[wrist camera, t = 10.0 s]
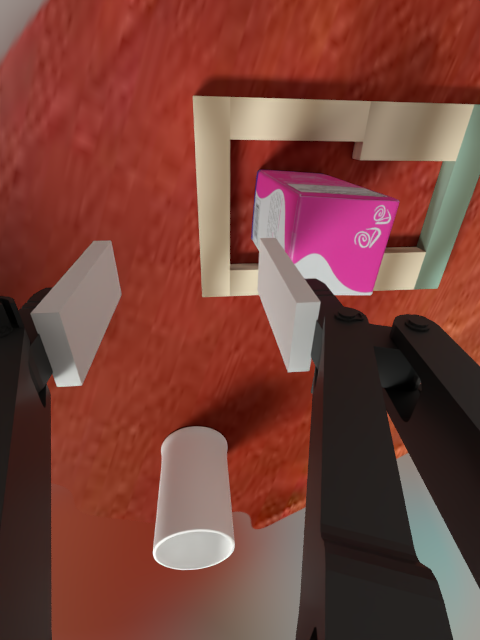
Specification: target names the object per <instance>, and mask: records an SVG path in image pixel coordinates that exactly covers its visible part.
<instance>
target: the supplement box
mask: <svg viewBox="0 0 480 640" xmlns="http://www.w3.org/2000/svg"><path fill="white" fill-rule="evenodd" d="M399 202H400V201H399V200H397V199H395V198H392V197H389V196H386V195H384V194H381V193H378V192H375V191H372V190H369V189H366V188H363V187H361V186H357V185H354V184H351V183H348V182H346V181H343V180H340V179H337V178H334V177H331V176H329V175H326V174H321V173H307V172H293V171H278V170H258V172H257V178H256V187H255V198H254V210H253V222H252V236H251V239H252V240H253V242H254V243H255V245H256V247H257V248H258V250H259V249H260V238H276V239H277V240H278V242H279V243H280V245H281V246H282V248H283V249H284V250H285V252H286V253H287V255H288V256H289V258H290V259H291V260H292V262H293V263H294V265H295V266H296V268H297V269H298V270H299V272H300V273H301V275H302V276H303V278H304V279H311V278H316V279H318V280H320V281H321V282H323V283H325V284H326V285H327V287H328V288H329V289H330V291H331V292H332V293H333V294H334V295H371V294H372V293H373V289H374V286H375V282H376V279H377V276H378V272H379V269H380V265H381V262H382V259H383V255H384V252H385V249H386V245H387V242H388V239H389V235H390V232H391V229H392V225H393V222H394V219H395V215H396V212H397V209H398V205H399Z"/></svg>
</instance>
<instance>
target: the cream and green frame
mask: <svg viewBox="0 0 480 640" xmlns="http://www.w3.org/2000/svg"><path fill="white" fill-rule="evenodd" d="M193 111H194V132H195V153H196V174H197V195H198V216H199V238H200V259H201V280H202V297H217V296H244V295H259V293H258V290H257V288H258V268H259V263H253V264H230V139H233V140H294V141H355V144H354V149H353V155H352V159H357V160H389V161H443V163H442V166H441V169H440V173H439V176H438V179H437V182H436V186H435V189H434V192H433V195H432V198H431V202H430V205H429V208H428V211H427V215H426V218H425V221H424V224H423V227H422V231H421V234H420V237H419V240H418V244H417V247H389V248H386V249H385V252H384V255H383V259H382V262H381V265H380V269H379V272H378V276H377V279H376V282H375V286H374V289H373V291H381V290H409V289H436V288H438V286H439V283H440V281H441V278H442V275H443V272H444V270H445V267H446V264H447V262H448V259H449V256H450V254H451V251H452V248H453V245H454V243H455V240H456V237H457V235H458V232H459V229H460V226H461V224H462V221H463V218H464V216H465V213H466V210H467V208H468V205H469V202H470V199H471V197H472V194H473V191H474V189H475V186H476V183H477V181H478V178H479V175H480V105H477V104H444V103H412V102H379V101H346V100H314V99H281V98H248V97H215V96H193Z"/></svg>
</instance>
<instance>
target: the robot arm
mask: <svg viewBox="0 0 480 640" xmlns="http://www.w3.org/2000/svg"><path fill="white" fill-rule="evenodd" d="M257 290H258V293H259V296H260V298H261V301H262V304H263V306H264V309H265V312H266V314H267V317H268V320H269V322H270V325H271V328H272V330H273V333H274V336H275V339H276V341H277V344H278V347H279V349H280V352H281V355H282V357H283V360H284V363H285V365H286V368H287V371H288V372H300V371H309V369H310V363H311V358H312V360H313V362H314V364H315V366H316V367H315V373H314V378H313V384H312V389H311V393H313V398H312V414H311V430H310V447H309V463H308V479H307V496H306V512H305V528H304V545H303V561H302V577H301V578H302V579H301V593H300V606H299V616H298V624H297V631H296V640H453V637H452V633H451V629H450V625H449V620H448V616H447V612H446V608H445V604H444V600H443V597H442V594H441V591H440V588H439V585H438V582H437V580H436V578H435V576H434V574H433V573H432V571H431V569H429V568H428V567H426V566H425V565H423V564H422V563H420V562H419V560H418V558H417V556H416V553H415V549H414V545H413V540H412V535H411V530H410V526H409V521H408V516H407V511H406V506H405V501H404V496H403V491H402V486H401V481H400V476H399V471H398V466H397V461H396V456H395V451H394V446H393V441H392V436H391V431H390V426H389V421H388V417H387V412H388V414H389V416H390V418H391V420H392V422H393V424H394V426H395V428H396V430H397V431H398V433H399V435H400V437H401V439H402V441H403V443H404V445H405V447H406V449H407V451H408V453H409V454H410V456H411V458H412V460H413V462H414V464H415V466H416V468H417V470H418V472H419V473H420V475H421V477H422V479H423V481H424V483H425V485H426V487H427V489H428V490H429V493H430V494H431V496H432V498H433V500H434V502H435V504H436V506H437V508H438V510H439V512H440V514H441V516H442V517H443V519H444V521H445V523H446V525H447V527H448V529H449V531H450V533H451V535H452V536H453V539H454V540H455V542H456V544H457V546H458V548H459V550H460V552H461V554H462V556H463V558H464V559H465V561H466V563H467V565H468V567H469V569H470V571H471V573H472V575H473V577H474V579H475V581H476V582H477V584H478V586H479V588H480V366H479V365H478V364H477V363H476V362H475V361H474V360H473V359H472V358H471V357H470V356H469V355H468V354H467V353H466V352H465V351H464V350H463V349H462V348H461V347H460V346H459V345H458V344H457V343H456V342H455V341H454V340H453V339H452V338H451V337H450V336H449V335H448V334H447V333H446V332H445V331H444V330H443V329H442V328H441V327H440V326H439V325H437V324H436V323H435V322H433V321H431V320H429V319H427V318H426V317H423V316H419V315H409V314H406V315H399V316H397V317H395V319H394V322H393V325H392V327H388V326H381V325H374V324H369V322H368V319H367V317H366V315H364V314H363V313H362V312H360V311H358V310H355V309H353V308H348V307H344V306H343V305H342V304H341V303H340V302H339V300H338V299H337V298H336V297H335V296H334V294H333V293H332V292H331V291H330V289H329V288H328V287H327V285H326V284H325V283H323V282H321V281H320V280H318V279H316V278H311V279H304V278H303V276H302V275H301V273H300V272H299V270H298V269H297V268H296V266H295V265H294V263H293V262H292V260H291V259H290V258H289V256H288V255H287V253H286V252H285V250H284V249H283V248H282V246H281V245H280V243H279V242H278V240H277V239H276V238H260V249H259V268H258V288H257ZM121 295H122V294H121V289H120V284H119V279H118V273H117V268H116V263H115V258H114V253H113V247H112V242H111V241H93V242H92V244H91V245H90V246H89V247H88V248H87V249H86V250H85V252H84V253H83V254H82V255H81V256H80V257H79V258H78V260H77V261H76V262H75V263H74V264H73V265H72V266H71V268H70V269H69V270H68V271H67V272H66V273H65V274H64V276H63V277H62V278H61V279H60V280H59V281H58V282H57V284H56V285H55V286H54V287H53V288H44V289H43V290H41V291H39V292H37V293H35V294H34V295H33V296H32V297H31V298H30V299H29V300H28V301H27V303H25V304H24V305H23V306H22V309H19V310H18V309H17V306H16V304H15V301H14V299H13V298H10V297H5V296H0V640H52V632H51V394H50V391H49V389H48V386H47V384H46V383H47V381H48V380H49V378H50V376H51V374H53V377H54V379H55V382H56V385H57V387H65V386H81V385H82V384H83V382H84V380H85V377H86V375H87V373H88V370H89V368H90V366H91V363H92V361H93V359H94V357H95V354H96V352H97V350H98V347H99V345H100V343H101V341H102V338H103V336H104V334H105V331H106V329H107V327H108V325H109V322H110V320H111V318H112V315H113V313H114V311H115V308H116V306H117V304H118V302H119V299H120V297H121ZM386 410H387V412H386Z"/></svg>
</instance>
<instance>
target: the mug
mask: <svg viewBox="0 0 480 640" xmlns="http://www.w3.org/2000/svg"><path fill="white" fill-rule="evenodd" d="M227 450H228V445H227V441H226V439H225V438H224V436H223V435H222V434H221V433H219V432H218V431H216V430H214V429H211V428H208V427H202V426H192V427H186V428H182V429H179V430H177V431H175V432H173V433H172V434H170V435H169V436H168V437H167V438H166V439H165V440H164V442H163V444H162V447H161V454H162V466H161V476H160V486H159V496H158V506H157V516H156V526H155V537H154V546H153V556H154V558H155V560H156V561H157V562H158V563H160V564H161V565H163V566H165V567H169V568H173V569H180V570H193V569H201V568H205V567H209V566H212V565H215V564H217V563H219V562H222V561H223V560H225V559H226V558H228V557H229V556H230V555H231V554H232V552H233V550H234V547H235V542H234V531H233V520H232V509H231V498H230V487H229V476H228V465H227Z"/></svg>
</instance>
